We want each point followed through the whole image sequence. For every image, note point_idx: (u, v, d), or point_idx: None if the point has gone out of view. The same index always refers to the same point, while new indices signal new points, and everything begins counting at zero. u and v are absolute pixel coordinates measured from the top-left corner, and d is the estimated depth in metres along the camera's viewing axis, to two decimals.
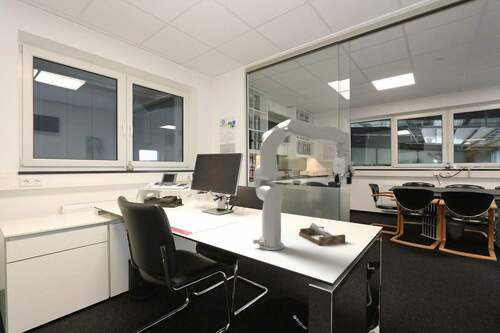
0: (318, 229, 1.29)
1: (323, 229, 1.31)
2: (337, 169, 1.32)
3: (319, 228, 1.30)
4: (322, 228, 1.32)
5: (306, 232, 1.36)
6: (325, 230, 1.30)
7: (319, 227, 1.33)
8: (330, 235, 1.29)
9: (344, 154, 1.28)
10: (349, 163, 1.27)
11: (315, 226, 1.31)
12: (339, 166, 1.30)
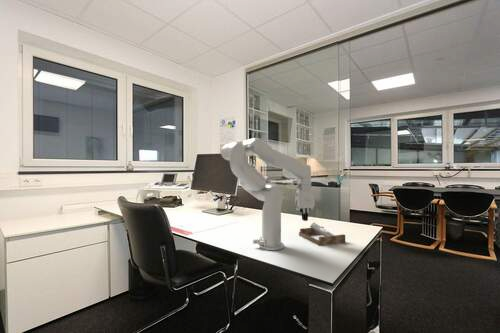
0: (319, 229, 1.29)
1: (324, 229, 1.31)
2: (305, 204, 1.23)
3: (320, 228, 1.31)
4: (323, 228, 1.32)
5: (306, 232, 1.36)
6: (326, 230, 1.31)
7: (320, 227, 1.34)
8: (331, 235, 1.29)
9: None
10: None
11: (316, 226, 1.32)
12: (308, 200, 1.24)
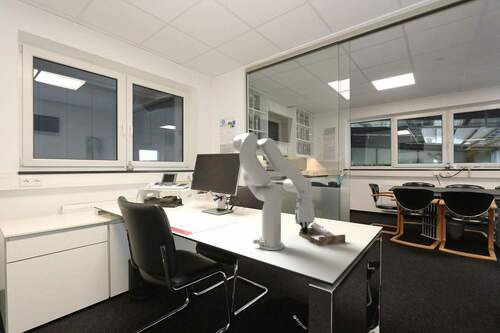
0: (319, 229, 1.30)
1: (324, 229, 1.31)
2: (305, 218, 1.23)
3: (320, 228, 1.31)
4: (324, 228, 1.32)
5: None
6: (326, 230, 1.31)
7: (321, 227, 1.34)
8: (331, 235, 1.29)
9: None
10: None
11: (316, 226, 1.32)
12: (308, 214, 1.24)
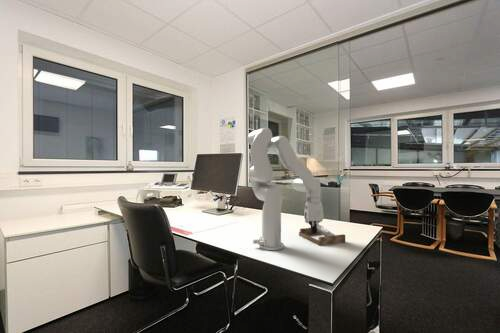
0: (319, 228, 1.30)
1: (325, 229, 1.31)
2: (315, 216, 1.25)
3: (321, 228, 1.31)
4: (324, 228, 1.32)
5: (306, 232, 1.36)
6: (327, 230, 1.31)
7: (322, 227, 1.34)
8: (332, 235, 1.29)
9: None
10: None
11: None
12: (317, 213, 1.26)
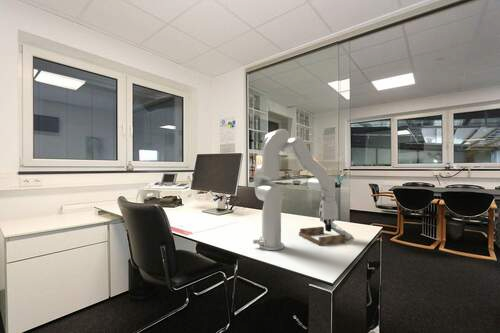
0: (334, 227, 1.33)
1: (340, 228, 1.34)
2: (329, 215, 1.28)
3: (336, 226, 1.34)
4: (339, 227, 1.35)
5: (306, 232, 1.36)
6: (342, 229, 1.33)
7: (337, 226, 1.37)
8: (347, 234, 1.31)
9: None
10: None
11: (332, 224, 1.36)
12: (332, 212, 1.29)
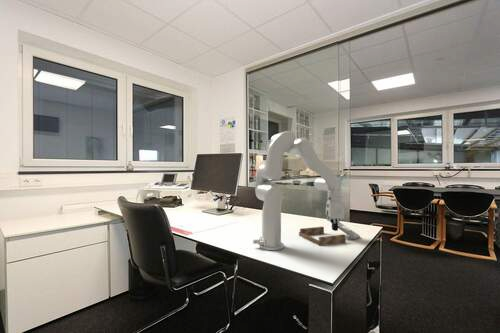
0: (341, 226, 1.34)
1: (347, 227, 1.35)
2: (336, 214, 1.30)
3: (343, 226, 1.35)
4: None
5: (306, 232, 1.36)
6: None
7: (344, 226, 1.38)
8: (354, 233, 1.31)
9: None
10: None
11: (339, 224, 1.37)
12: (338, 211, 1.31)
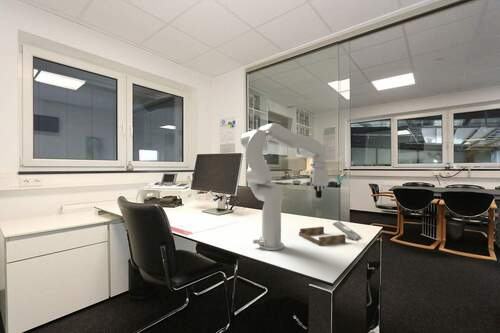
0: (341, 227, 1.33)
1: (348, 228, 1.34)
2: (320, 181, 1.29)
3: (343, 226, 1.35)
4: (347, 227, 1.35)
5: (306, 232, 1.36)
6: (350, 229, 1.33)
7: (345, 226, 1.37)
8: (354, 234, 1.31)
9: None
10: None
11: (340, 224, 1.36)
12: (322, 178, 1.30)
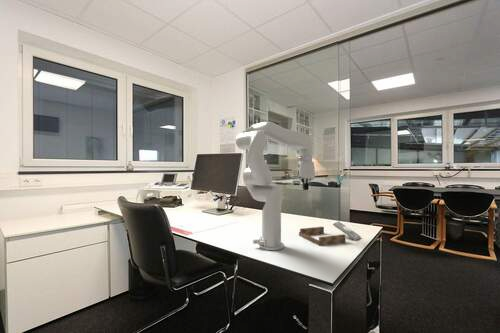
0: (342, 227, 1.33)
1: (348, 228, 1.34)
2: (306, 174, 1.34)
3: (343, 226, 1.34)
4: (347, 227, 1.35)
5: (306, 232, 1.36)
6: (350, 229, 1.33)
7: (344, 226, 1.37)
8: (354, 234, 1.31)
9: None
10: None
11: (340, 224, 1.36)
12: (309, 171, 1.35)
